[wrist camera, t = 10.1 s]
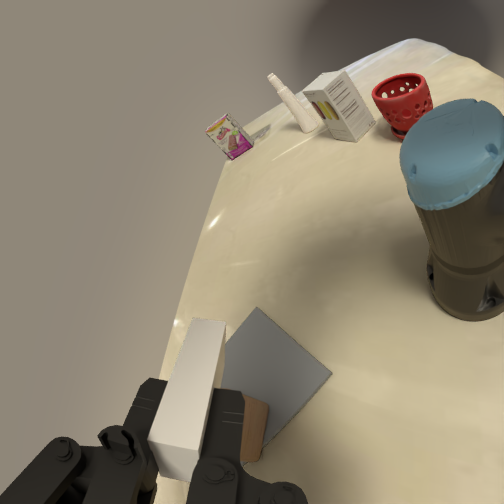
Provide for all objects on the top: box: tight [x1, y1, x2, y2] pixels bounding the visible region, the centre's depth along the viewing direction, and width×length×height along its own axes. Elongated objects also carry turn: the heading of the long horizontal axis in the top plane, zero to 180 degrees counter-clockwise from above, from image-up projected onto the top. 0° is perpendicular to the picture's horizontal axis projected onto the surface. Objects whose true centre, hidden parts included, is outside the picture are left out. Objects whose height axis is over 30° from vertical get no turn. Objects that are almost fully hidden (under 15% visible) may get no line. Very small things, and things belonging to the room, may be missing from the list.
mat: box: [220, 307, 333, 466], centre depth 47 cm, size 22×22×1 cm
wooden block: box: [220, 388, 269, 462], centre depth 42 cm, size 10×10×20 cm
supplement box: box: [302, 70, 375, 142], centre depth 68 cm, size 10×9×17 cm
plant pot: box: [372, 73, 433, 139], centre depth 53 cm, size 13×13×12 cm
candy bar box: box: [205, 113, 254, 160], centre depth 111 cm, size 11×5×16 cm, turn 82°
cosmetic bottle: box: [267, 73, 319, 133], centre depth 84 cm, size 6×6×22 cm
